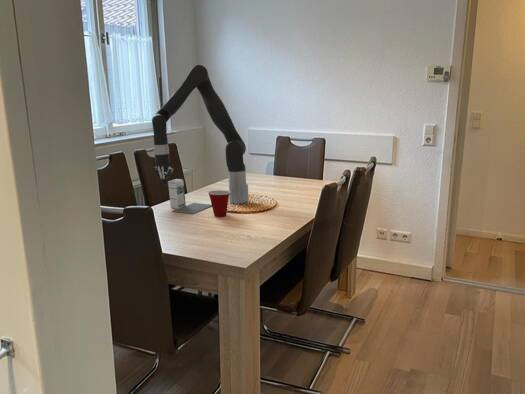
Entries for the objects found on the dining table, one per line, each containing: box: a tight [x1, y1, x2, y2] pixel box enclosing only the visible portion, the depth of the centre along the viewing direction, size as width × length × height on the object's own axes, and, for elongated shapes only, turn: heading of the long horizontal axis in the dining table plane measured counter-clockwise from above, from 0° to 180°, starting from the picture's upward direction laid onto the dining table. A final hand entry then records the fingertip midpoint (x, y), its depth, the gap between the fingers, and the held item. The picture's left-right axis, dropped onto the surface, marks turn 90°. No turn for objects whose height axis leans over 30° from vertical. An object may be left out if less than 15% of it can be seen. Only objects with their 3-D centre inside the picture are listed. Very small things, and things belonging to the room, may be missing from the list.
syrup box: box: [167, 178, 187, 209], centre depth 251 cm, size 6×6×14 cm
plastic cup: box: [207, 190, 231, 218], centre depth 232 cm, size 11×11×12 cm
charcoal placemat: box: [172, 202, 212, 215], centre depth 248 cm, size 13×18×1 cm
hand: (164, 185), depth 254 cm, fingers closed
